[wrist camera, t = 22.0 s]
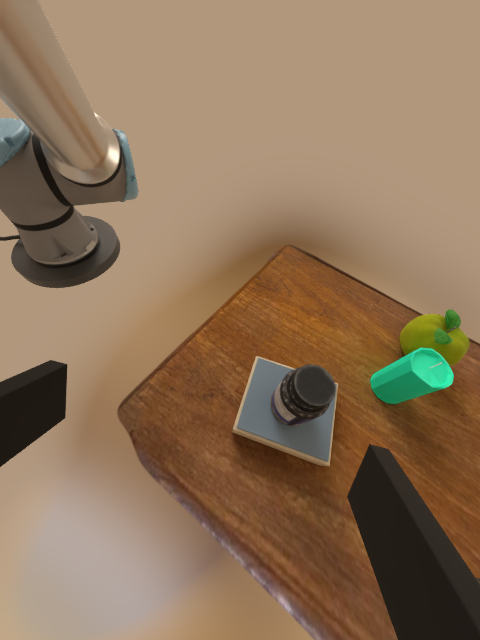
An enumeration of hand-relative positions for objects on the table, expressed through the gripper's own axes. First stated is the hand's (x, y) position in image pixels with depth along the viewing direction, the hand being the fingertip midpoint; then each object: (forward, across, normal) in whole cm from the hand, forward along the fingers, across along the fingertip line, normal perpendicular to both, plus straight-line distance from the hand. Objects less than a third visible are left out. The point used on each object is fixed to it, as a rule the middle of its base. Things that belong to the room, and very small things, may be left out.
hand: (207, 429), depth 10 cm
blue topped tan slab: (+26, +9, -15) cm, 31 cm away
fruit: (+38, +33, -3) cm, 51 cm away
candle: (+32, +27, -9) cm, 43 cm away
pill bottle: (+23, +9, -12) cm, 28 cm away
